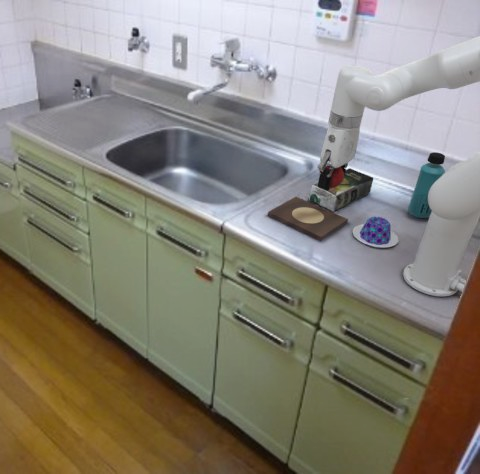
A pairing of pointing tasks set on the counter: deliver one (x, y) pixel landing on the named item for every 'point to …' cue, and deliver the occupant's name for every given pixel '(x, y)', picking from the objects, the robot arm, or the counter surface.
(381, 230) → the pudding
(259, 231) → the counter surface
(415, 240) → the counter surface
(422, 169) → the beverage bottle
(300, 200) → the cutting board
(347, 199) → the juice carton
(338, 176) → the red round fruit
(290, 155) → the counter surface
